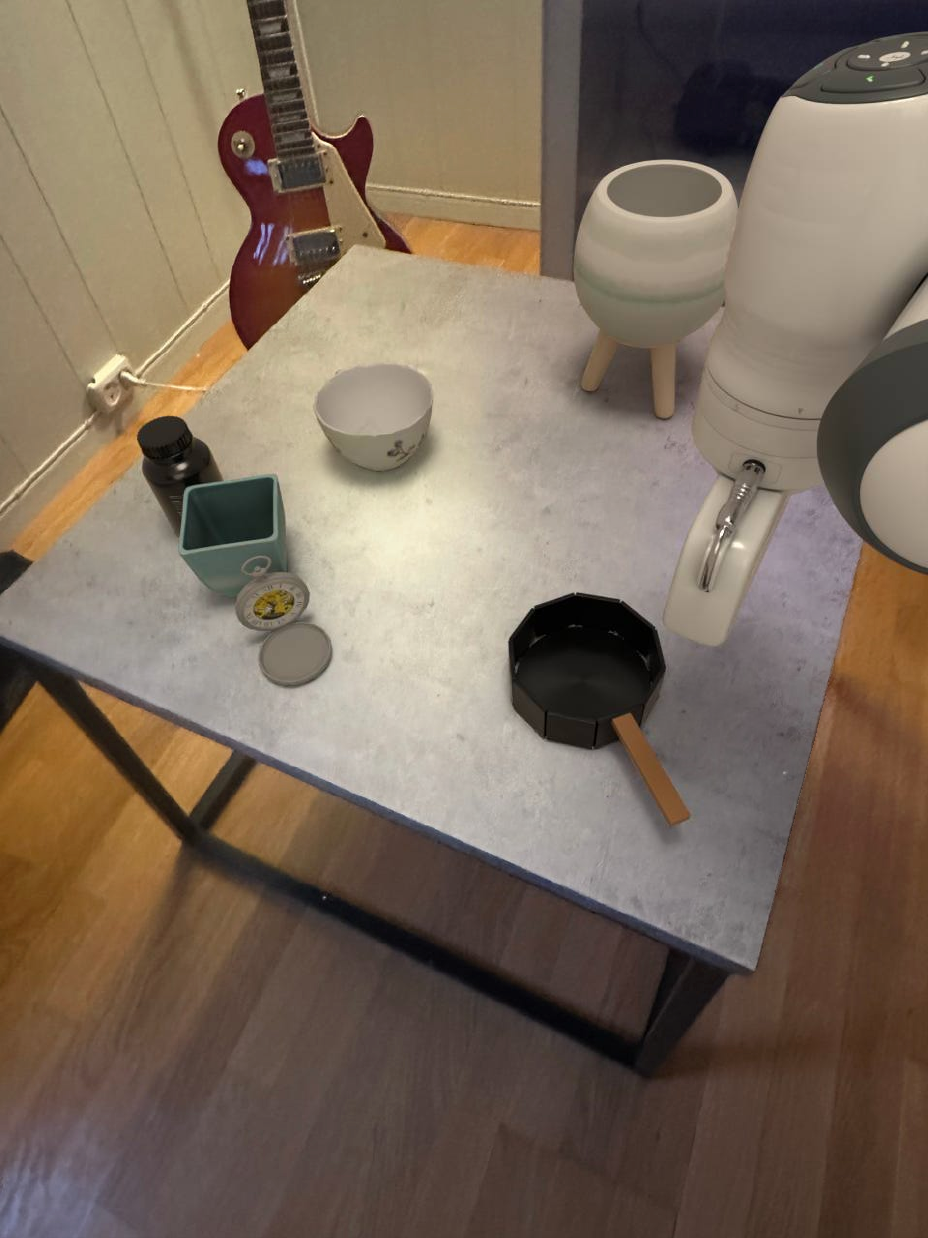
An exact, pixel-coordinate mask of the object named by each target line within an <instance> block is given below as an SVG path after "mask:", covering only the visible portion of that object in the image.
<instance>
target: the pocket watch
mask: <svg viewBox="0 0 928 1238" xmlns="http://www.w3.org/2000/svg"><path fill="white" fill-rule="evenodd" d="M260 558H263V559H266V560H267V561H268V565H267V566H266V568H260V567H259V566H257V567H255V571H254V572H253V573H247V572H246V571H245V570H244V569H245V566H246V565H247V564H248V563H249V562H250V561H252V560H254V559H260ZM270 565H271V559H270V558H269V557H267V556H256V557H253V558H251V559H249V560H247V561H246V562H245V563H244V564H243V566H242V567H241V571H242V573H243V574H244V575H247V576H253V577H256V579H254V580H252V581H251V582H249V583H248V584H247V585H246V586H245V587H244V588H243V589H242V590H241V591H240V593H239V594H238V596H236V599H235V604H234V605H235V606H234V608H235V615H236V618H237V620H238V621H239V623H240V624H241V625H242V626H244V627H246V628H247V629H249V630H253V631H258V632H265V631H266V632H267V631H272V632H271V633H269V634H268V636H266V637H265V639H264V640H263V642H262V643H261V646H260V648H259V650H258V658H257V659H258V665H259V667H260V671H262V673H263V674H264V676H265V677H266V678H268V680H269V681H272V682H275V683H277V684H279V685H286V686H295V685H300V684H303V683H306V682H309V681H310V680H312V679H314V678H316V677H317V676H319V674H321V673H322V672H323V671H324V670H325V668H326V667H327V666H328V664H329V662H330V660H331V656H332V651H333V650H332V649H333V648H332V641H331V639H330V637H329V634H328V633H327V632H326V631H325V629H323V628H322V627H321V626H320V625H317V624H315V623H314V622H313V623H312V622H308V621H296V620H297V619H298V618H299V617H301V616H302V615H303V613H304V612H305V611H306V610H307V608H308V605H309V602H310V597H311V592H310V589H309V587H308V585H307V584H306V583H305V581H304V580H303V579H302V578H300V577H299V576H298V575H296V574H293V573H291V572H287V571H286V572H274V573H269V574H266V571H267V569H268V568H269V567H270ZM289 596H290V598H288V597H289ZM267 608H268V609H269V610H267ZM266 610H267V611H266ZM295 621H296V622H295Z"/></svg>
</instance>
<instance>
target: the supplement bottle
mask: <svg viewBox="0 0 928 1238" xmlns="http://www.w3.org/2000/svg"><path fill="white" fill-rule="evenodd" d="M136 441H137V444H138V446H139V448H140V450H141V453H142V455H143V459H142V462H141V472H142V475H143V477H144V479H145V481H146V482H147V484H148V486H149V488H150V490H151V491H152V494H153V495H154V497H155V499H156V500H157V503H158V504H159V506H160V508H161V509H162V511H163V513H164V515H165V516H166V518H167V521H168V522H169V524H170V525H171V527H172V529H173V530H174V533H176V535H178V536H179V537H180V530H181V522H182V511H183V498H184V491H185V489H186V488H187V487H190V486H194V485H200V484H208V483H213V482H220V481H225V479H224V477H223V474H222V472H221V470H220V469H219V466H218V464H217V462H216V460H215V457H214V454H213V452H212V451H211V449H210V447H209V446H208V445H207V443H205V442H204V441H203V440H201V439H200V438H197V437H195V436H194V435H193V433H192V431H191V430H190V428H189V426H188V423H187V422H186V421H185V420H184V419H183V418H181V417H180V416H177V415H163V416H158V417H156V418H153V419H151V420H149V421H148V422H146V423H144V425H142V426H141V428H139V429H138V432H137V434H136Z"/></svg>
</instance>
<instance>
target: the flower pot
mask: <svg viewBox="0 0 928 1238" xmlns="http://www.w3.org/2000/svg"><path fill="white" fill-rule="evenodd" d="M285 511H286V510H285V506H284V501H283V496H282V491H281V486H280V481H279V478H278V475H277V474H276V473H265V474H259V475H254V476H247V477H240V478H233V479H226V480H224V481H220V482H213V483H208V484H200V485H194V486H190V487H187V488H186V489H185V491H184V498H183V511H182V522H181V530H180V536H179V539H178V545H177V547H178V548H177V552H178V555H180V556H179V557H181V559H182V560H183V561H184V563H185V564H186V565H187V566H188V568H189V569H190V570H191V571H192V572H193V574H194V575H195V576H196V577H197V579H198V580H199V581H200V583H202V584H203V585H204V586H205V587H206V588H208V589H210V590H211V591H213V592H215V593H217V594H220V595H223V596H228V597H230V598H231V597H232V598H235V597H236V598H237V596H238V594H239V593H240V591H241V590H242V589H243V588H244V587H245V586H246V585H247V584H248V583H249V582H251V581H252V580H254V579H256V577H253V576H247V575H244V574H243V573H242V571H241V567H242V566H243V564H244V563H245V562H246V561H247V560H249V559H251V558H253V557H256V556H267V557H269V558H270V559H271V565H270V567H269V568H268V569H267V571H266V574H269V573H274V572H286V573H287V521H286V519H287V518H286V512H285ZM267 565H268V561H267V560H266V559H263V558H260V559H254V560H252V561H250V562H249V563H248V564H247V565H246V566H245V569H244V570H245V571H246V572H247V573H253V572H254V571H255V567H257V566H259V567H260V568H266V566H267Z"/></svg>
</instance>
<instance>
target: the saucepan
mask: <svg viewBox="0 0 928 1238" xmlns="http://www.w3.org/2000/svg"><path fill="white" fill-rule="evenodd" d="M662 647H663V646H662V643H661V639H660V636H659V631H658V628H656V626H655V625H654V624H653V623H652V622H650V621H649V620H648V619H646V618H645V617H644V616H643V615H641V614H640V613H639V612H638V611H636V610H635V609H634V607H631V606H630V605H629V604H628V603H627V602H625V600H621V599H620V598H614V597H608V596H603V595H596V594H590V593H585V592H579V591H576V593H575V592H571V593H568V594H564V595H562V596H558V597H555V598H552V599H550V600H547V601H545V602H544V601H543V602H542V603H538V604H536V605H533V607H531V608H530V609H529V611H528V612H527V613H526V615H525V616H524V617H523V619H522V620H521V621H520V623H519V624H518V626H517V627H516V628H515V629H514V631H513V632H512V633H511V635H510V636H509V638H508V640H507V648H508V649H507V651H508V670H509V680H510V691H511V692H510V693H511V701H512V702H511V703H512V707H513V709H514V710H515V712H517V714H519V715H520V716H521V718H522V719H524V720H525V722H527V723H528V724H529V726H530V727H531V728H532V729H533V730H534V731H535V732H536V733H537V734H538V735H539V736H540V737H541V738H542V739H545V740H546V741H547V742H552V743H558V744H563V745H568V746H571V747H577V748H582V749H586V750H590V751H591V750H593V749H594V750H598V749H600V748H603V747H606V746H609V745H611V744H613V743H617V742H619V741H620V742H621V744H622V746H623V748H624V750H625V751H626V753H627V754H628V756H629V758H630V760H631V762H632V763H633V765H634V767H635V769H636V771H637V772H638V773H639V774H638V775H639V776H640V777H641V780H642V781H643V783H644V784H645V786H646V788H647V790H648V792H649V794H650V795H651V797H652V799H653V801H654V803H655V804H656V806H657V807H658V810H659V811H660V813H661V815H662V816H663V818H664V820H665V822H666V824H667V826H668V827H669V828H672V827H675V826H677V825H680V824H682V823H685V822H687V821H689V820H690V819H691V816H692V815H691V813H690V811H689V810H688V807H687V806H686V804H685V803H684V801H683V798H681V796H680V794H679V792H678V790H677V789H676V788H675V786H674V784H673V782H672V781H671V779H670V777H669V776H668V774H667V772H666V771H665V769H664V767H663V765H662V764H661V762H660V760H659V758H658V757H657V755H656V753H655V752H654V750H653V749H652V748H653V747H651V745H650V743H649V742H648V740H647V738H646V736H645V735H644V733H643V731H642V730H641V729H642V728H643V726H644V725H645V722H646V721H647V719H648V717H649V715H650V714H651V713H652V710H653V709H654V707H655V705H656V704H657V702H658V700H659V698H660V695H661V692H662V687H663V684H664V680H665V675H666V672H667V664H666V661H665V656H664V652H663V648H662ZM643 657H644V658H645V660H646V661H645V660H644V658H643ZM516 666H517V668H516Z"/></svg>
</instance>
